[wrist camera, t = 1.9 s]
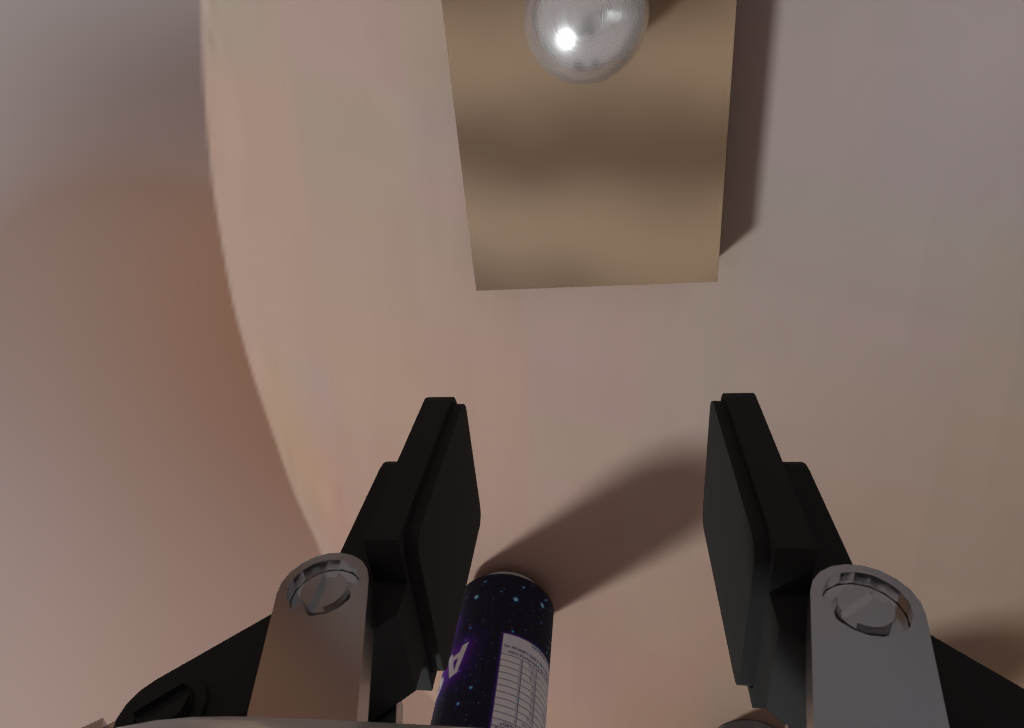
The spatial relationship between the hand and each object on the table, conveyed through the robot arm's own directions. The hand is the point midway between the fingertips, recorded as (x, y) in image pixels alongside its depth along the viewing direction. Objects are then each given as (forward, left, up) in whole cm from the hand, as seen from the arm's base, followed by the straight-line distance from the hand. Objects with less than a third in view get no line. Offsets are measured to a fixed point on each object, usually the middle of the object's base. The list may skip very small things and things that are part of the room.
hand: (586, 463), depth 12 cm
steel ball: (-6, -5, -13) cm, 15 cm away
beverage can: (+21, +11, -18) cm, 30 cm away
